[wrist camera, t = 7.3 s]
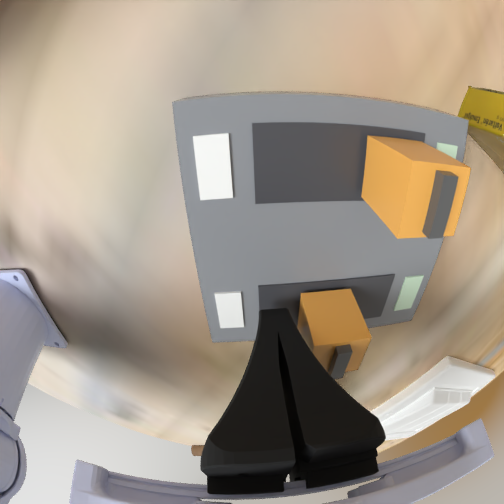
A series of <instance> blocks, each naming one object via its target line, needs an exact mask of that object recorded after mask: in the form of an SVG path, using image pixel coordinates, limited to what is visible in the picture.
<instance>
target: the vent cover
mask: <svg viewBox="0 0 504 504" xmlns="http://www.w3.org/2000/svg"><path fill="white" fill-rule="evenodd" d="M493 378H495V373H494V371H493V370H491V369H488V368H485V367H482V366H479V365H475V364H472V363H469V362H466V361H463V360H460V359H457V358H454V357H451V356H446V357H445V358H443V359H442V360H441V361H440V362H439V363H437V364H436V365H435V366H434V367H433V368H431V369H430V370H429V371H428V372H426V373H425V374H424V375H422V376H421V377H420V378H418V379H417V380H416V381H414V382H413V383H412V384H410V385H409V386H408V387H406V388H405V389H403V390H402V391H401V392H399V393H398V394H396V395H395V396H393V397H392V398H390V399H389V400H387V401H386V402H384V403H383V404H381V405H380V406H378V407H377V408H375V409H373V410H372V411H370V412H371V413H372V414H374V415H375V416H376V417H378V419H379V421H380V423H381V425H382V427H383V429H384V432H385V436H386V439H385V440H392V439H400V438H407V437H411V436H413V435H414V434H416V433H418V432H420V431H421V430H423V429H425V428H426V427H428V426H429V425H431V424H433V423H434V422H436V421H437V420H439V419H441V418H443V417H445V416H447V415H448V414H450V413H452V412H454V411H456V410H458V409H459V408H461V407H463V406H465V405H466V404H468V403H469V402H470V397H471V396H473V395H474V394H475V393H477V392H478V391H479V390H480V389H482V388H483V387H484V386H485V385H486V384H488V383H489V382H490V381H491V380H492V379H493Z"/></svg>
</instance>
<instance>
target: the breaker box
mask: <svg viewBox="0 0 504 504" xmlns="http://www.w3.org/2000/svg"><path fill="white" fill-rule="evenodd" d="M172 104H173V114H174V123H175V132H176V141H177V149H178V156H179V164H180V171H181V178H182V185H183V192H184V198H185V205H186V211H187V217H188V223H189V229H190V235H191V240H192V246H193V251H194V257H195V262H196V267H197V272H198V278H199V283H200V287H201V292H202V297H203V302H204V307H205V311H206V316H207V320H208V325H209V329H210V334H211V338H212V342H237V341H255V339H256V334H257V329H258V322H259V311H260V310H264V309H278V308H287V309H289V312H290V314H291V317H292V319H293V321H294V323H295V325H296V327H297V326H298V317H299V307H300V297H301V293H309V292H320V291H331V290H342V289H351V291H352V293H353V295H354V297H355V300H356V302H357V304H358V306H359V309H360V311H361V313H362V316H363V318H364V320H365V323H366V325H367V328H372V327H378V326H384V325H390V324H395V323H401V322H406V321H411V320H412V318H413V316H414V314H415V311H416V309H417V307H418V305H419V302H420V300H421V298H422V295H423V293H424V291H425V288H426V286H427V283H428V281H429V278H430V276H431V273H432V270H433V268H434V265H435V262H436V259H437V257H438V254H439V251H440V248H441V245H442V242H443V239H444V236H443V238H436V239H428V238H427V237H420V238H401V239H397V238H396V237H395V235H394V234H393V233H392V232H391V231H390V229H389V228H388V227H387V226H386V225H385V223H384V222H383V221H382V220H381V219H380V218H379V216H378V215H377V214H376V213H375V212H374V211H373V210H372V208H371V207H370V206H369V205H368V204H367V203H366V202H365V201H364V199H363V198H362V197H361V195H362V187H363V179H364V170H365V160H366V149H367V137H368V135H369V136H380V137H390V138H399V139H407V140H415V141H421V142H423V143H425V144H427V145H429V146H431V147H433V148H435V149H437V150H439V151H441V152H443V153H445V154H447V155H449V156H451V157H452V158H454V159H456V160H458V161H460V162H461V163H463V157H464V151H465V145H466V138H467V130H468V122H469V120H466V119H464V118H461V117H458V116H455V115H452V114H449V113H446V112H442V111H439V110H436V109H431V108H427V107H422V106H418V105H413V104H408V103H402V102H397V101H391V100H384V99H378V98H370V97H362V96H353V95H343V94H331V93H314V92H246V93H229V94H216V95H206V96H197V97H188V98H183V99H180V100H177V101H174V102H172Z"/></svg>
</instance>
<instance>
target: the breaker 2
mask: <svg viewBox="0 0 504 504" xmlns="http://www.w3.org/2000/svg"><path fill="white" fill-rule="evenodd" d="M470 170H471V168H470V167H468V166H467V165H465V164H463V163H461V162H460V161H458V160H456V159H454V158H452V157H451V156H449V155H447V154H445V153H443V152H441V151H439V150H437V149H435V148H433V147H431V146H429V145H427V144H425V143H423V142H421V141H415V140H407V139H399V138H390V137H380V136H369V135H368V137H367V149H366V160H365V170H364V179H363V187H362V195H361V197H362V198H363V199H364V201H365V202H366V203H367V204H368V205H369V206H370V207H371V208H372V210H373V211H374V212H375V213H376V214H377V215H378V216H379V218H380V219H381V220H382V221H383V222H384V223H385V225H386V226H387V227H388V228H389V229H390V231H391V232H392V233H393V234H394V235H395V237H396V238H397V239H401V238H420V237H427V238H428V239H436V238H443V236H453V235H454V232H455V229H456V226H457V222H458V219H459V215H460V212H461V208H462V205H463V201H464V197H465V193H466V189H467V184H468V180H469V175H470Z"/></svg>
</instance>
